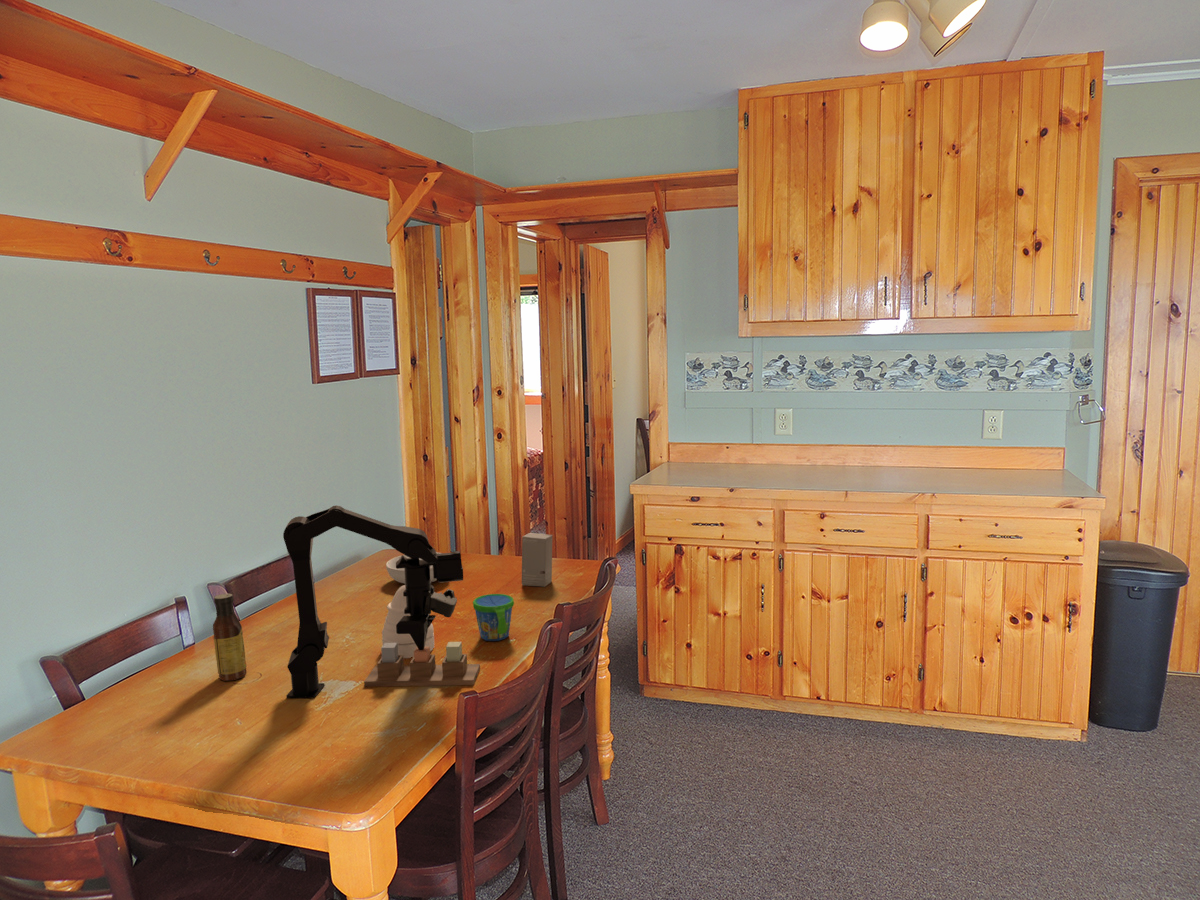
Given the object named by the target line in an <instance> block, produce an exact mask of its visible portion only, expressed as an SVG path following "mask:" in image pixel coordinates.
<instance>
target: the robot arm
mask: <svg viewBox="0 0 1200 900" xmlns="http://www.w3.org/2000/svg"><path fill="white" fill-rule="evenodd" d="M336 527H337V528H340V529H343V530H346V531H349V532H353V533H354V534H358V535H361V536H364V537H366V538H370V539H373V540H376V541H378V542H380V543H381V542H382V543H385V544H387V546H390V547H392V548H393V549H395V550H396V551H397V552H399V553H401V554H403V555H406V556H408V557H410V558H408V559H407V558H405V557H404V556H403V555H400V556H401V558H400V559H399V560H398V561H397V562H396V568H397V569H399V568H404V573H405V584H404V585H405V591H404V592H403V596H406V608H405V609H404V614H410V616H403V617H402V618H401V619H400V621H399V622H398V623H397V625H396V633H397V634H410V635H411V637H412V639H413V640H414V642H415V644H416V646H417V647H418V649H419V650H424V648H425V642H426V637H427V632H428V627H429V626H430V625H431V623H432V624H433V621H434V620H435V619H436V618H437V616H436V615H435V614H439V615H442V616H443V617H445V618H451V617H452V615H453V614H454V611H455V609H456V606H457V605H456V604H457V603H458V602H457V601H458V599H457V597H456V596H455V591H454V590H453V589H450V588H447V589H446V590H445V591H444V592H435V586H434V585H432V582H431V580H430V566H431V565H433V578H434V579H437V580H436V581H437V582H438V583H439V584H440V583H451V582H461V581H464V567H463V564H462V563H463V562H462V554H461V551H460V550H456V551H451V552H439V553H440V554H437V553H436V552H437V551H436V549H435V548H434V547H433V546H432V545H431V544H430V543H429V538H428V536H427V534H426V532H425V531H424V530H422V529H421V528H416V527H410V526H406V525H405V526H403V525H402V526H401V525H392V524H388V523H386V522H384V521H381V520H378V519H374V518H372V517H368V516H365V515H363V514H360V513H357V512H355V511H352V510H348V509H346V508H345V507H342V506H341V505H332V506H330V507H329V508H326V509H324V510H321V511H318V512H315V513H313V514H310V515H307V516H295V517H293V518H292V519H290V520H289V522H288V523H287V525H286V527H285V528H284V530H283V535H282V537H283V540H284V544H285V547H286V551H287V553H288V556H289V557H290V560H291V562H292V566H293V567H292V569H293V575H294V586H295V594H296V602H297V611H298V620H299V623H298V624H299V627H298V633H297V634H298V635H297V636H298V637H297V642H296V643H297V646H296V647H294V649H292V651H291V653H290V656H289V657H290V658H289V660H288V663H287V666H286V667H287V669H288V671H289V674H290V681H291V690H290V691H289V692H287V694H286V697H285V698H287V699H294V698H295V699H296V698H297V699H300V698H302V699H303V698H304V699H305V698H312V699H313V698H315V697H317V695H318V694H319V693H320V692H321V691H322V689H323V688H324V687H325V685H326V684H325V683H320V682H319V669H318V662H319V661H320V660H321V659H322V658H323V657H324V655H325V651H326V649H327V648H328V645H329V640H330V636H329V634H328V631H327V630H328V621H324V622H321V620H320V618H319V614H318V607H317V597H316V589H315V579H314V570H313V561H312V552H313V545H314V538H316V537H319V536H320V535H322V534H324V533H326V532H327V531H329V530H332V529H334V528H336ZM419 558H420V559H422V560H419ZM432 612H433V613H435V614H432Z"/></svg>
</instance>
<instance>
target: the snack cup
mask: <svg viewBox="0 0 1200 900" xmlns="http://www.w3.org/2000/svg"><path fill="white" fill-rule="evenodd" d="M514 605H515V601H514V598H513V596H511V595H508V594H504V593H488V594H483V595H480V596H478V597H476V598H474V600H473V601H472V607H473V609H474V611H475V617H476V622H477V627H478V633H479V636H480V638H481V639H483V640H484V641H485V642H487V641H489V642H499V641H501V640H505V639H506V638H508V637H509V636H510V629H511V621H512V614H513V613H512V611H513V607H514Z"/></svg>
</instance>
